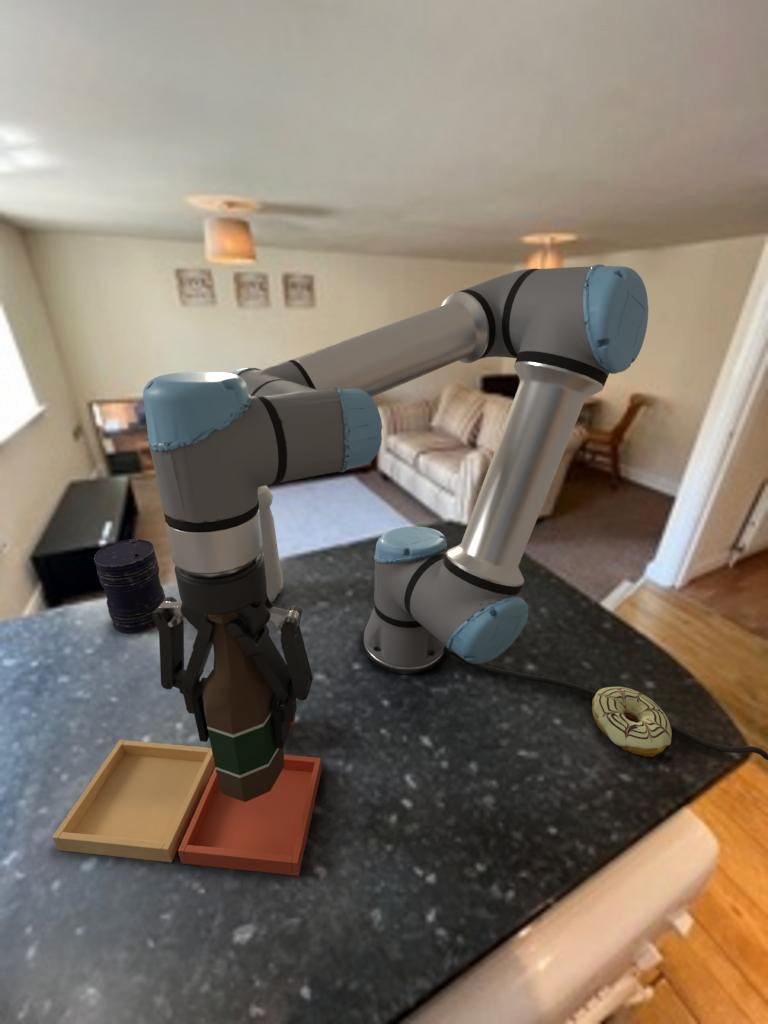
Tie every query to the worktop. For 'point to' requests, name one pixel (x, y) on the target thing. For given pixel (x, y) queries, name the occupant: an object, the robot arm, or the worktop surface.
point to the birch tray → (138, 802)
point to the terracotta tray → (256, 823)
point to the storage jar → (130, 584)
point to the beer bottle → (240, 719)
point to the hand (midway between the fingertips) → (245, 733)
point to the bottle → (269, 544)
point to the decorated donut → (637, 736)
